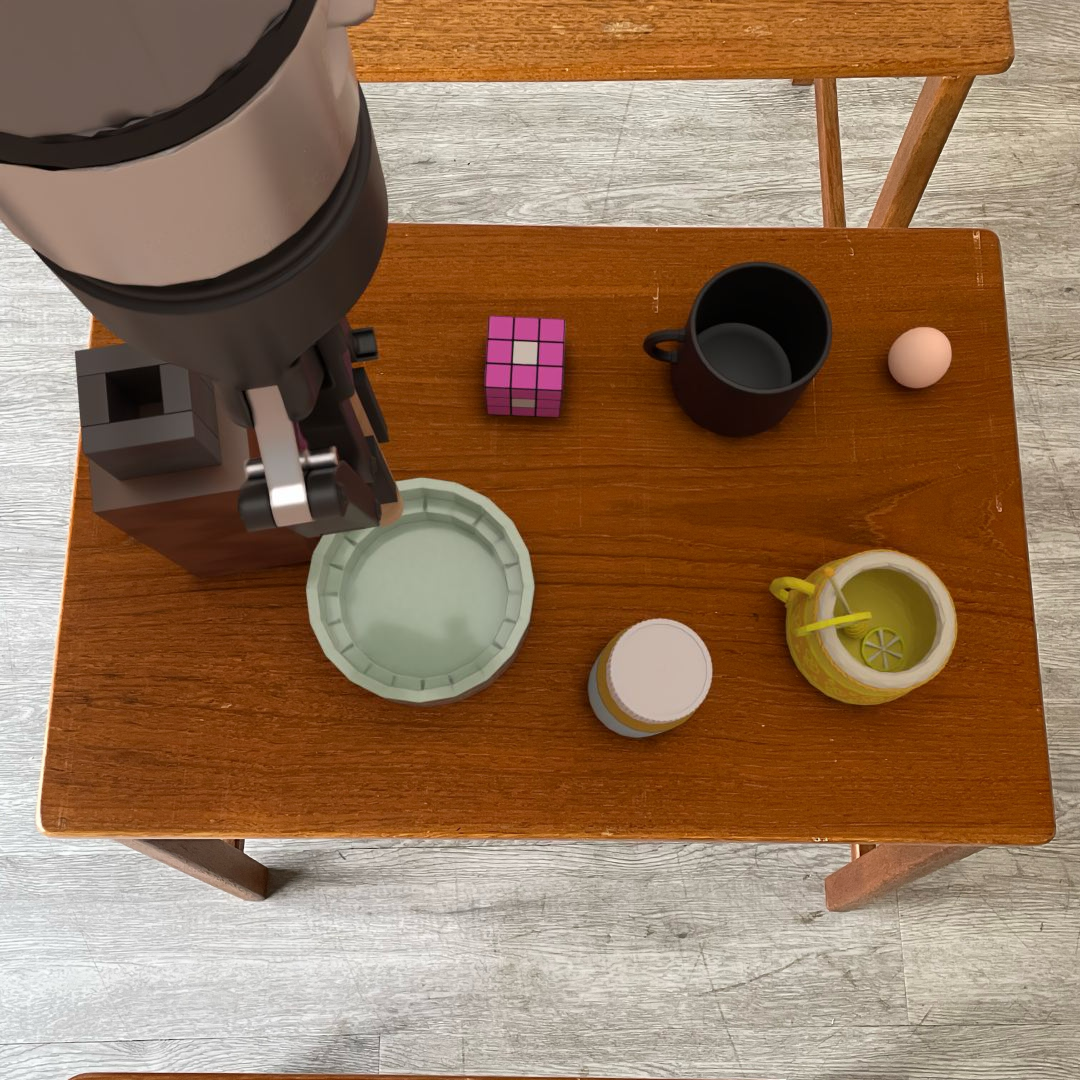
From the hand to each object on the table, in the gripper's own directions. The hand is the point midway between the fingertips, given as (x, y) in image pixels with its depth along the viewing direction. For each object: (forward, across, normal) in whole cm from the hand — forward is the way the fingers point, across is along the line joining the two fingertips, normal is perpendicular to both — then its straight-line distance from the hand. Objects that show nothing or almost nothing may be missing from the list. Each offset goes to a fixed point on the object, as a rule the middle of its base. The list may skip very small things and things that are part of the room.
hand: (360, 468), depth 44 cm
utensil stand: (+35, +9, +12) cm, 38 cm away
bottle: (+35, -9, -14) cm, 39 cm away
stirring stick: (+6, 0, 0) cm, 6 cm away
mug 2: (+35, -7, -30) cm, 46 cm away
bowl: (+35, 0, 0) cm, 35 cm away
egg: (+35, +12, -40) cm, 54 cm away
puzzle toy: (+35, +16, -10) cm, 40 cm away
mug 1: (+35, +14, -25) cm, 45 cm away
